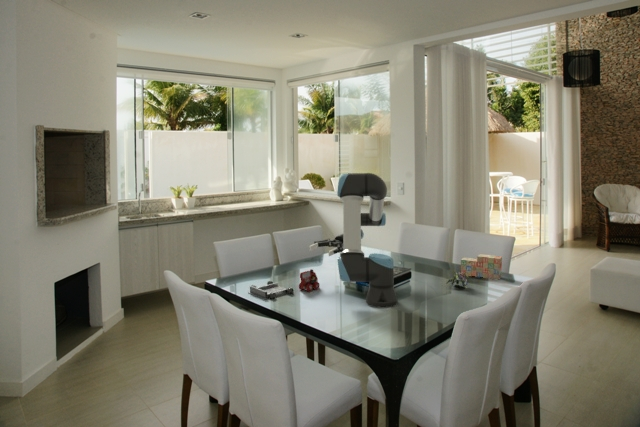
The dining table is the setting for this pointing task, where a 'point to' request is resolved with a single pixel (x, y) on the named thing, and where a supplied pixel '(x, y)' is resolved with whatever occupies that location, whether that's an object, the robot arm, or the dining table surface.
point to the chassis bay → (269, 290)
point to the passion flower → (458, 279)
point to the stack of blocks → (482, 266)
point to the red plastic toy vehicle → (308, 281)
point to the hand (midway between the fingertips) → (319, 251)
